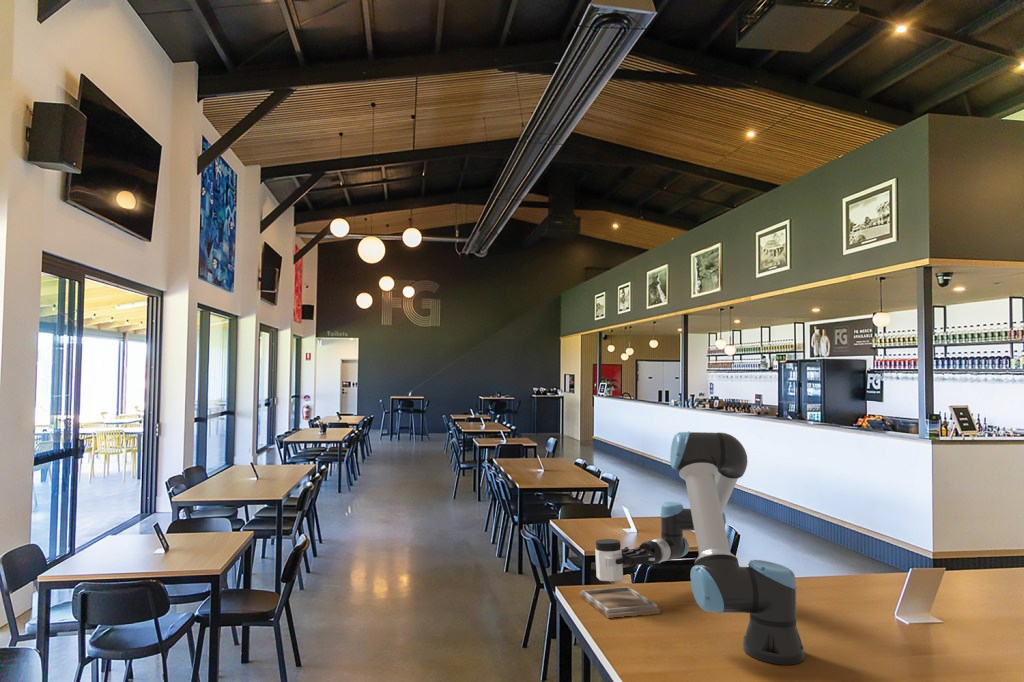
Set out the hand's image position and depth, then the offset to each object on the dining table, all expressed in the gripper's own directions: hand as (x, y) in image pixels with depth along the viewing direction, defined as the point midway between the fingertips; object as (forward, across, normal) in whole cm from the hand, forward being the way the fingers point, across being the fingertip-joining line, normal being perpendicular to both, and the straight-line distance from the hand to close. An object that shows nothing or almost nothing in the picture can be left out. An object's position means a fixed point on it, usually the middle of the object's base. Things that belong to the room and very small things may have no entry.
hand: (606, 562), depth 200 cm
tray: (-5, 0, -14) cm, 15 cm away
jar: (-5, +3, -7) cm, 9 cm away
